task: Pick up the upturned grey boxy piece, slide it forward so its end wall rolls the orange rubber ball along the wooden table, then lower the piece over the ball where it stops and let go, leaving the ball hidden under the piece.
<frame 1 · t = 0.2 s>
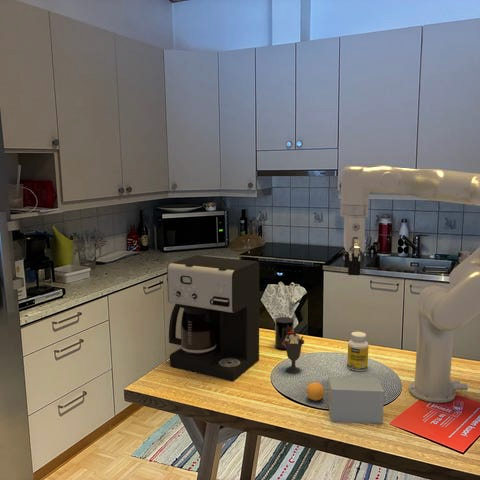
hand: (351, 271, 137), 36 cm above the table, tool pointing down, fingers open, 9 cm apart
coffee maker: (209, 363, 163), on the table
supplement container: (284, 347, 177), on the table
sundae: (293, 371, 157), on the table
ball: (315, 391, 137), on the table
pill bottle: (357, 368, 159), on the table
grey boxy piece: (354, 414, 129), on the table
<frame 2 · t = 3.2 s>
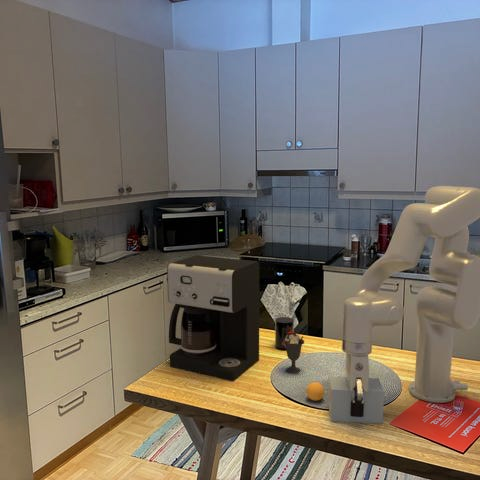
hand: (354, 407, 129), 2 cm above the table, tool pointing down, fingers closed on grey boxy piece, 7 cm apart
grey boxy piece: (354, 414, 129), on the table, touching gripper
everything else where it was.
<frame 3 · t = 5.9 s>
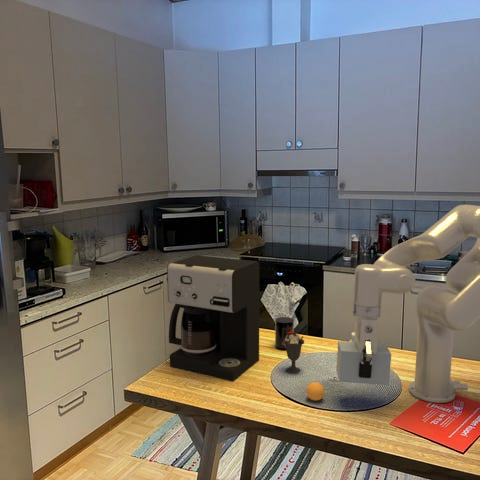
hand: (362, 370, 134), 9 cm above the table, tool pointing down, fingers closed on grey boxy piece, 7 cm apart
grey boxy piece: (361, 377, 135), point 7 cm above the table, touching gripper
everything else where it was.
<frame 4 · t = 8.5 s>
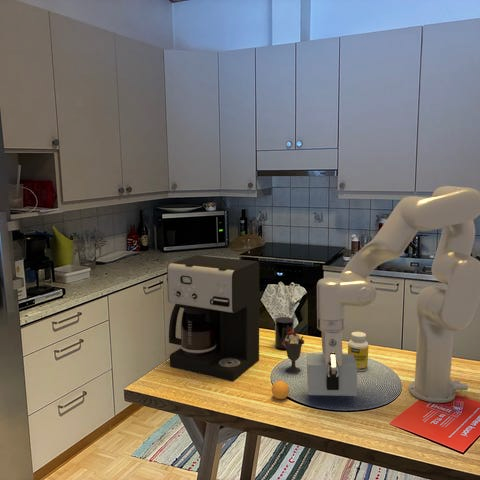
hand: (331, 382, 136), 5 cm above the table, tool pointing down, fingers closed on grey boxy piece, 7 cm apart
ball: (280, 389, 138), on the table
grey boxy piece: (331, 388, 137), point 3 cm above the table, touching gripper
everything else where it was.
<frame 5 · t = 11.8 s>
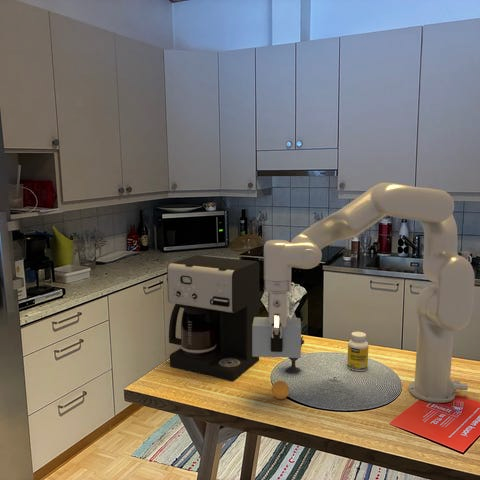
hand: (276, 345, 136), 16 cm above the table, tool pointing down, fingers closed on grey boxy piece, 7 cm apart
grey boxy piece: (276, 351, 136), point 14 cm above the table, touching gripper
everything else where it was.
when the fingers open (2 cm above the table, at t = 14.5 s): grey boxy piece stays where it is, on the table.
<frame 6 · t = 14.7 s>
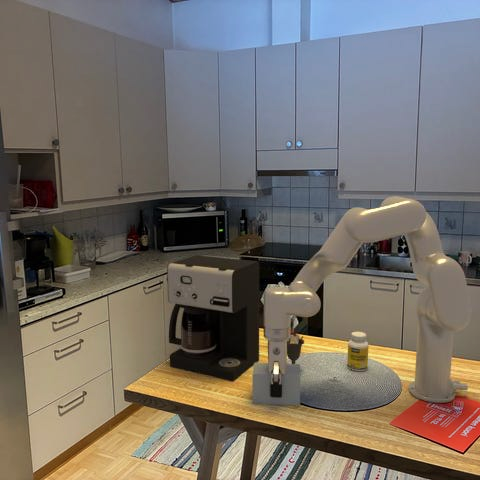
hand: (276, 388, 138), 3 cm above the table, tool pointing down, fingers open, 9 cm apart
grey boxy piece: (276, 397, 139), on the table
everything else where it was.
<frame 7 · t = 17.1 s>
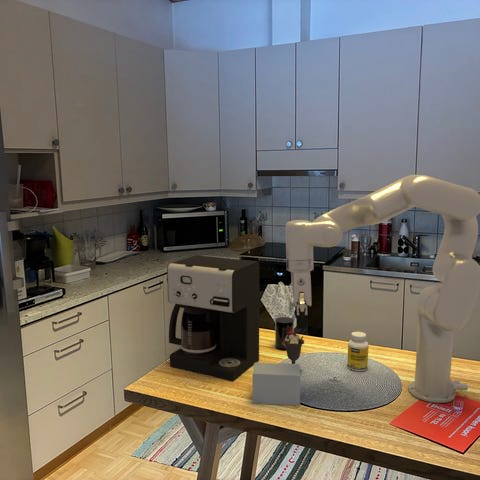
hand: (301, 322, 139), 21 cm above the table, tool pointing down, fingers open, 9 cm apart
nothing on the table moved.
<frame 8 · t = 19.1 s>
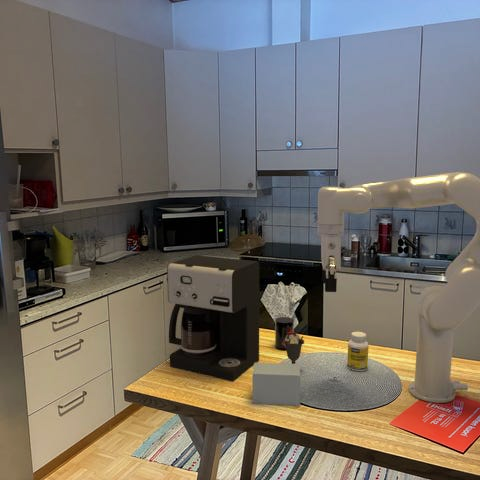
hand: (329, 287, 142), 30 cm above the table, tool pointing down, fingers open, 9 cm apart
nothing on the table moved.
at the end: ball 1.1 cm from the grey boxy piece (horizontally); grey boxy piece on the table; ball moved 9.9 cm from its start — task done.
